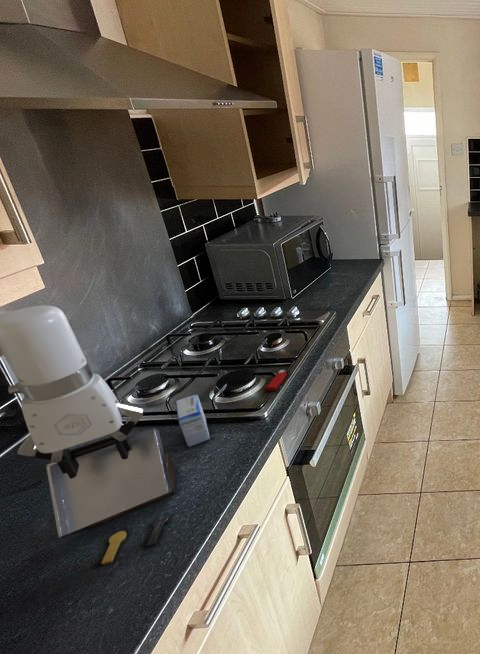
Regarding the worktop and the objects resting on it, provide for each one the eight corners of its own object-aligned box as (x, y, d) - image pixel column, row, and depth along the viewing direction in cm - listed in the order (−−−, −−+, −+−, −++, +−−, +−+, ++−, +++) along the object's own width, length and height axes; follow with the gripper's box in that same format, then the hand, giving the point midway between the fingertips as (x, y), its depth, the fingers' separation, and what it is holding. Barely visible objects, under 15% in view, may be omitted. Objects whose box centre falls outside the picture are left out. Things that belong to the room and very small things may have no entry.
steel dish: (66, 534, 73) (46, 542, 66) (53, 461, 75) (33, 461, 69) (172, 491, 81) (163, 494, 75) (157, 426, 83) (147, 423, 77)
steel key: (143, 548, 76) (142, 546, 75) (155, 519, 81) (155, 517, 81) (159, 543, 76) (158, 541, 76) (170, 515, 82) (170, 513, 81)
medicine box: (185, 428, 102) (174, 400, 99) (206, 420, 105) (197, 393, 102) (188, 448, 97) (176, 419, 94) (211, 439, 100) (200, 410, 96)
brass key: (98, 566, 73) (97, 564, 72) (112, 535, 78) (111, 533, 78) (115, 560, 74) (114, 558, 73) (128, 530, 79) (127, 528, 78)
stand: (89, 528, 79) (78, 510, 77) (94, 500, 84) (85, 483, 82) (174, 493, 86) (167, 475, 84) (174, 469, 91) (167, 452, 89)
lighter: (264, 387, 115) (279, 369, 123) (265, 390, 116) (280, 373, 123) (275, 387, 115) (288, 369, 123) (276, 390, 116) (289, 373, 123)
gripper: (-32, 416, 59) (25, 504, 66) (127, 373, 68) (162, 454, 76) (-14, 388, 65) (37, 472, 72) (131, 351, 74) (163, 429, 81)
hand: (101, 462), depth 74 cm, fingers closed on steel dish, 6 cm apart
